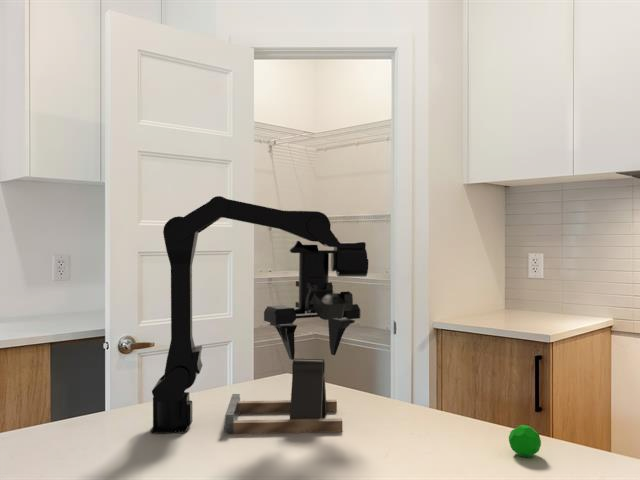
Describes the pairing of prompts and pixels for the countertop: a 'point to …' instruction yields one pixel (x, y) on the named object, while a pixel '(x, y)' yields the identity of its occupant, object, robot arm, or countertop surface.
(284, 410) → the guide track
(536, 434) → the polyhedron
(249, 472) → the countertop surface
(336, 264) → the robot arm
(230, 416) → the end stop
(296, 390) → the phone stand
